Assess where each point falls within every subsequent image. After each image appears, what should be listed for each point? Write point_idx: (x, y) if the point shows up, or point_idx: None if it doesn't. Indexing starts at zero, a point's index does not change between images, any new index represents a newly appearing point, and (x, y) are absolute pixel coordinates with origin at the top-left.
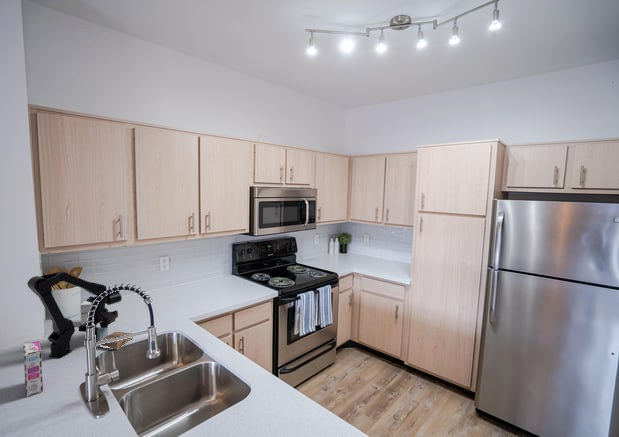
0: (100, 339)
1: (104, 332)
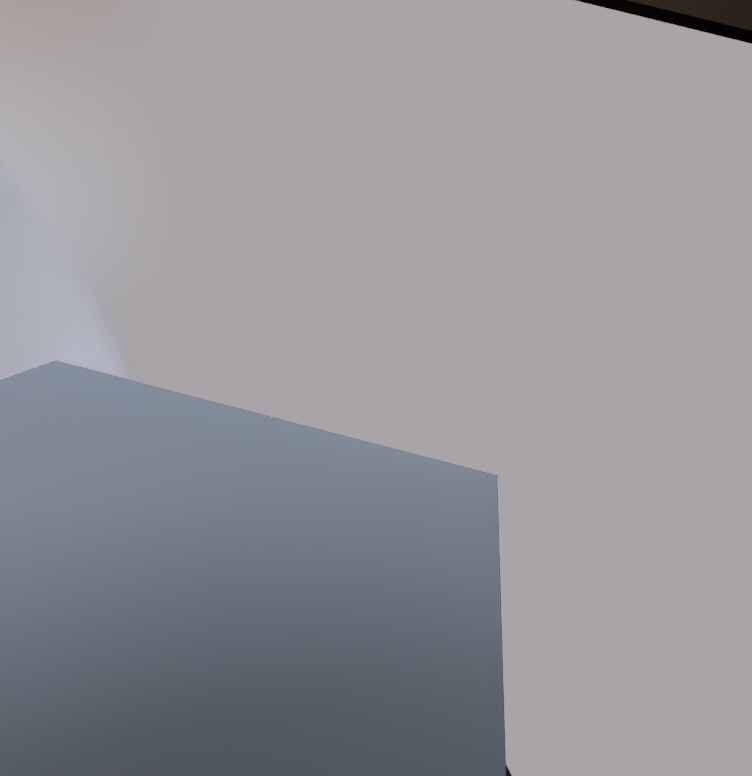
0: (478, 519)
1: (22, 582)
